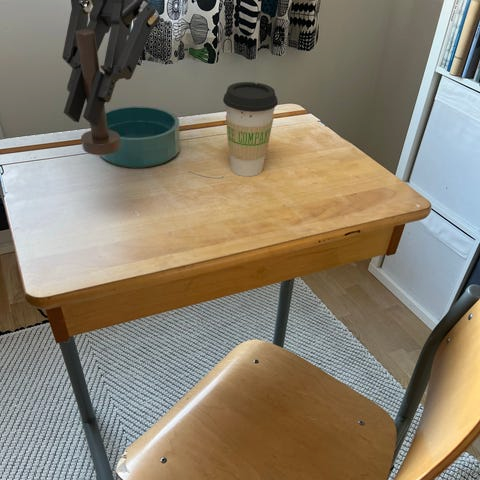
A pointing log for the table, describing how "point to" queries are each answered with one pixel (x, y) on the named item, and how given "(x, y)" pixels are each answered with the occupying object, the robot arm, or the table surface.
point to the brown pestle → (98, 137)
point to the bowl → (143, 136)
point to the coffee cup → (249, 125)
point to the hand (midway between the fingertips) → (80, 119)
